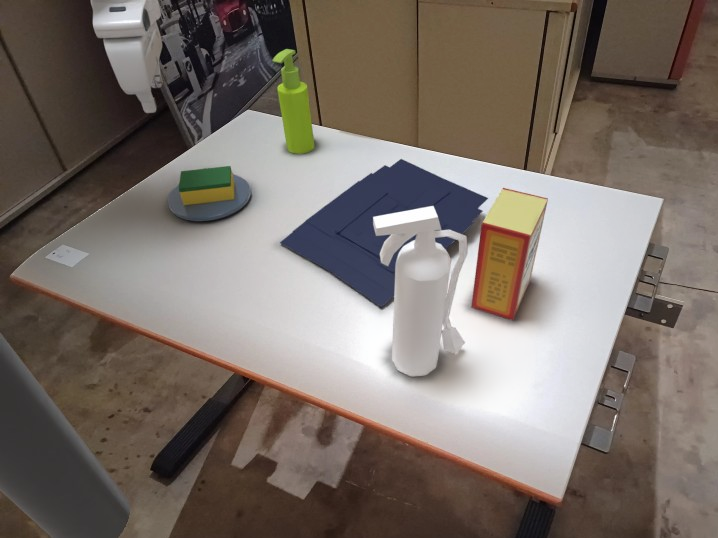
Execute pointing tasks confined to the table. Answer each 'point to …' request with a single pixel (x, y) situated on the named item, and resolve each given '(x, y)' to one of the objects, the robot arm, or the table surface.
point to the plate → (210, 204)
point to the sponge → (206, 185)
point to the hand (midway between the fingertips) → (154, 98)
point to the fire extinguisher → (420, 288)
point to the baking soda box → (507, 252)
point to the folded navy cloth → (356, 231)
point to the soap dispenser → (294, 106)
